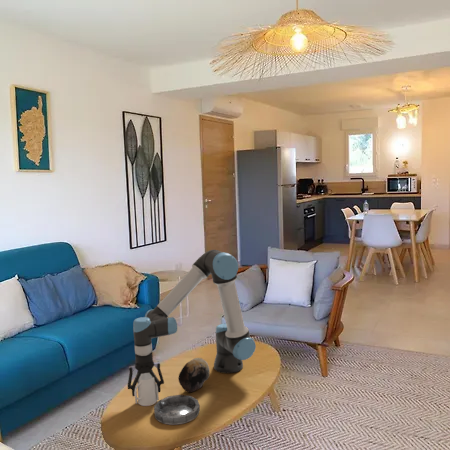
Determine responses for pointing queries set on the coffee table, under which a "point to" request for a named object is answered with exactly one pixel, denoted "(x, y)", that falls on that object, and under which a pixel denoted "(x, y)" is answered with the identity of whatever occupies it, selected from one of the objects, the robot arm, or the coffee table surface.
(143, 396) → the mug
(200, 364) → the decorative stone
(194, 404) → the gray metal bowl
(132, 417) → the coffee table surface
